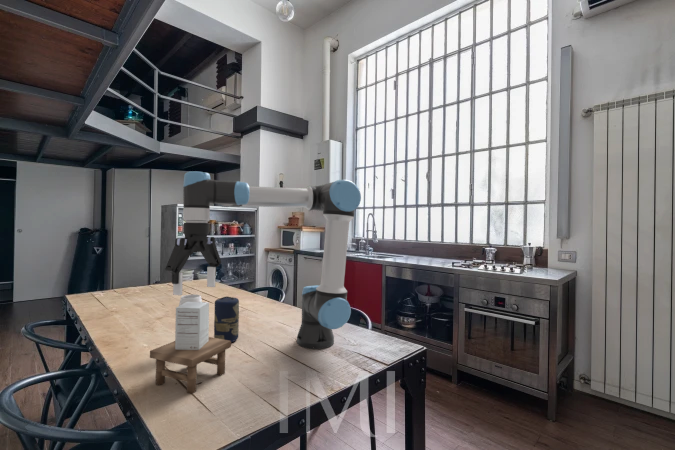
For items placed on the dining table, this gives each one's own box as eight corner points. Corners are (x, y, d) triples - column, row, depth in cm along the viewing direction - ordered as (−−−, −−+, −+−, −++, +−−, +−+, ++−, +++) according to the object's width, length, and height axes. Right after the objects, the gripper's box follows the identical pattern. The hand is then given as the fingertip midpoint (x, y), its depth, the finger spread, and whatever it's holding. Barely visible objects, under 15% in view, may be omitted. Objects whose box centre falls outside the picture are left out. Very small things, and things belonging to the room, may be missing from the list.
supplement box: (185, 341, 102) (186, 301, 102) (209, 341, 102) (210, 301, 102) (174, 350, 95) (174, 307, 95) (199, 350, 95) (199, 307, 95)
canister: (230, 346, 125) (231, 299, 125) (208, 343, 127) (209, 298, 127) (242, 337, 135) (243, 294, 135) (222, 335, 136) (223, 293, 137)
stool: (230, 371, 103) (230, 340, 103) (191, 396, 88) (192, 359, 88) (191, 363, 109) (192, 334, 109) (149, 385, 94) (149, 350, 94)
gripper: (215, 222, 113) (214, 283, 113) (151, 221, 89) (150, 297, 89) (232, 222, 110) (231, 284, 110) (172, 221, 87) (171, 300, 87)
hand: (195, 290), depth 100 cm, fingers open, 13 cm apart
